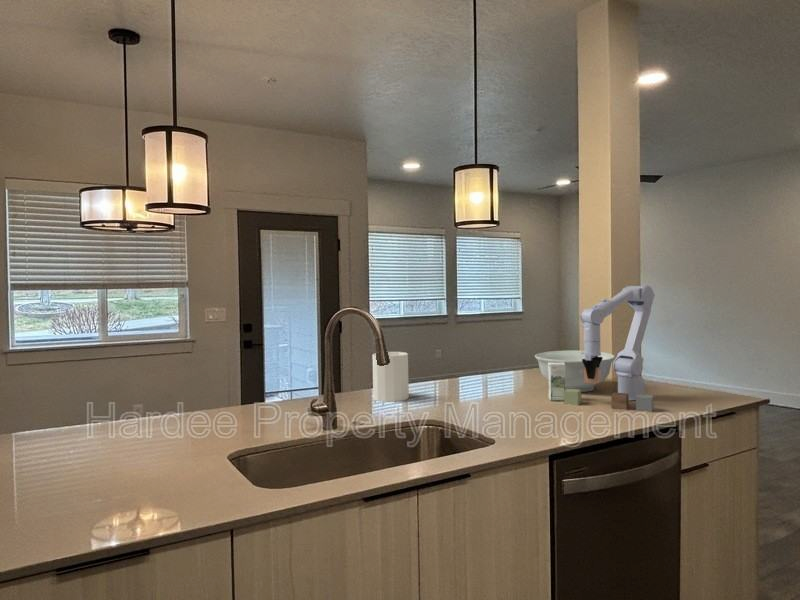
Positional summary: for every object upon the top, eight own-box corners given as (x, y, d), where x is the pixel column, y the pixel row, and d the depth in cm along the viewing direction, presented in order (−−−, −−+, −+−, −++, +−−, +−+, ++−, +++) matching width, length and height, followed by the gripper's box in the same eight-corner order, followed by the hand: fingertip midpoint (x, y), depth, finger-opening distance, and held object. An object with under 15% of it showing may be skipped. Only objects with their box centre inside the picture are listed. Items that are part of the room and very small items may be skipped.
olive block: (567, 401, 214) (567, 388, 214) (581, 402, 211) (580, 389, 211) (564, 404, 210) (564, 391, 210) (577, 405, 207) (577, 392, 207)
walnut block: (614, 405, 205) (613, 392, 205) (628, 407, 203) (628, 393, 203) (611, 408, 201) (611, 394, 201) (626, 410, 198) (626, 396, 198)
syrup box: (563, 398, 220) (562, 361, 220) (566, 401, 214) (565, 363, 214) (548, 398, 221) (547, 361, 220) (550, 401, 215) (550, 363, 214)
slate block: (638, 408, 201) (637, 394, 201) (653, 409, 199) (653, 395, 199) (636, 411, 197) (636, 396, 197) (651, 412, 194) (651, 398, 194)
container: (393, 403, 218) (392, 357, 217) (365, 399, 226) (364, 354, 226) (415, 396, 229) (414, 352, 229) (387, 393, 238) (386, 350, 237)
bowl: (544, 397, 223) (544, 360, 222) (528, 382, 255) (528, 350, 254) (626, 396, 221) (626, 359, 221) (600, 381, 254) (600, 349, 253)
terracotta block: (587, 380, 212) (586, 366, 212) (600, 380, 210) (600, 367, 210) (584, 382, 208) (583, 368, 208) (598, 383, 205) (597, 369, 205)
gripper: (585, 338, 217) (585, 373, 217) (576, 342, 204) (576, 379, 205) (604, 339, 213) (604, 374, 214) (596, 343, 201) (597, 381, 201)
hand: (592, 377), depth 209 cm, fingers closed on terracotta block, 5 cm apart
